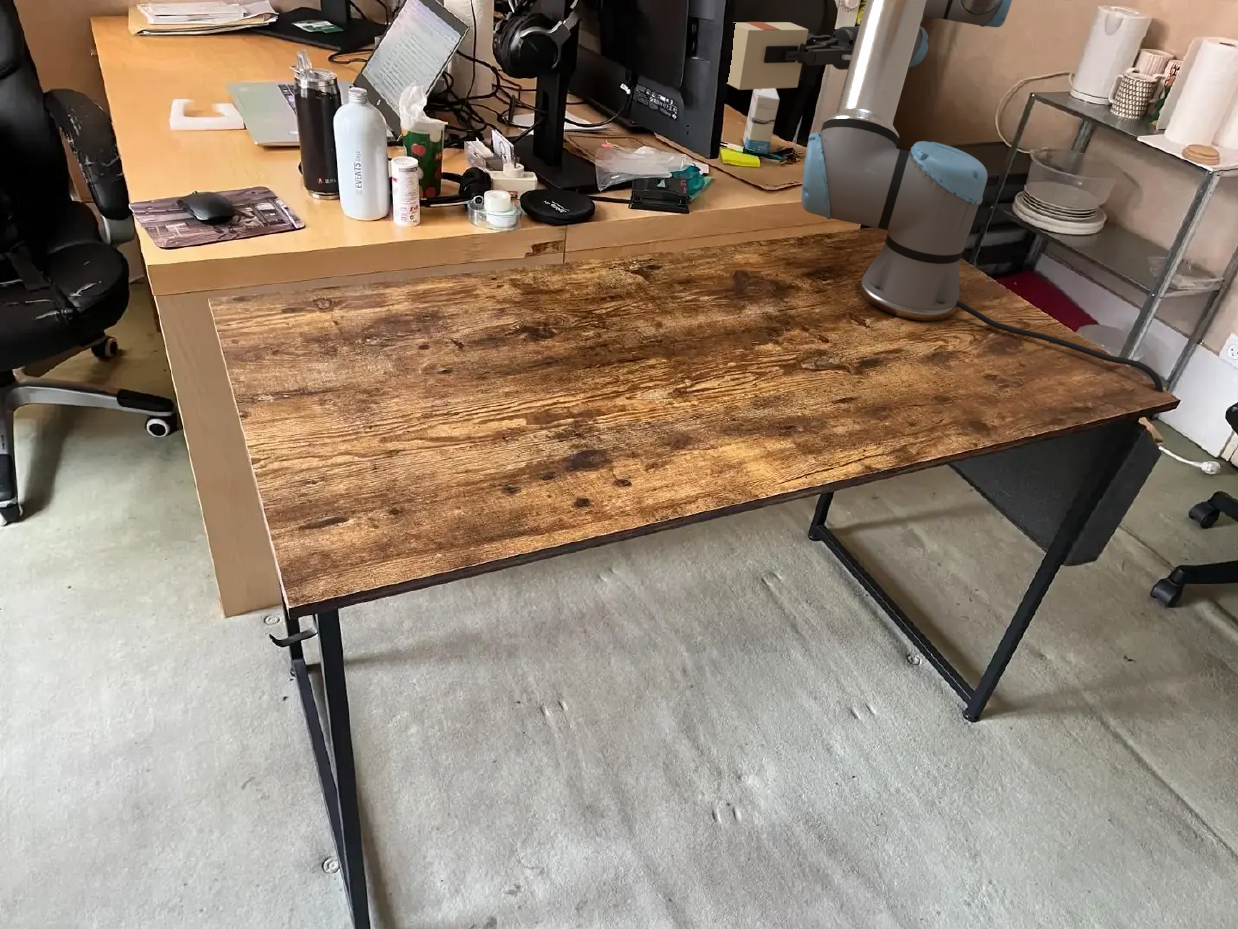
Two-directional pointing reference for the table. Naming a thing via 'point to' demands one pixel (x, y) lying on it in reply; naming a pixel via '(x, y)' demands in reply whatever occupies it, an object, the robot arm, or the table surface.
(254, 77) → the table surface
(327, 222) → the table surface
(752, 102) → the ink box
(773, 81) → the carton
